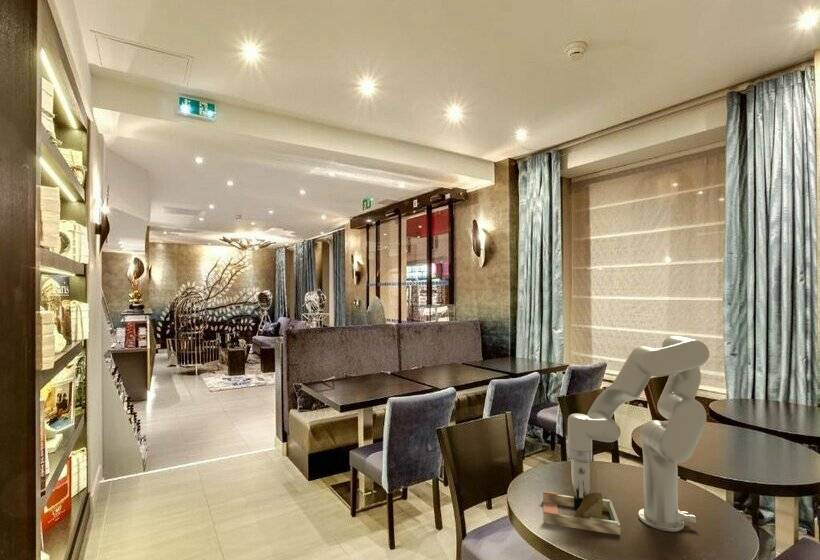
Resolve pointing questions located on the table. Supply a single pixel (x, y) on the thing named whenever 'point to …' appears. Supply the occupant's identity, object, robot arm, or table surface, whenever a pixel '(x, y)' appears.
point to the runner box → (582, 523)
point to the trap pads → (550, 506)
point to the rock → (591, 506)
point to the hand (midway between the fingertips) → (579, 509)
